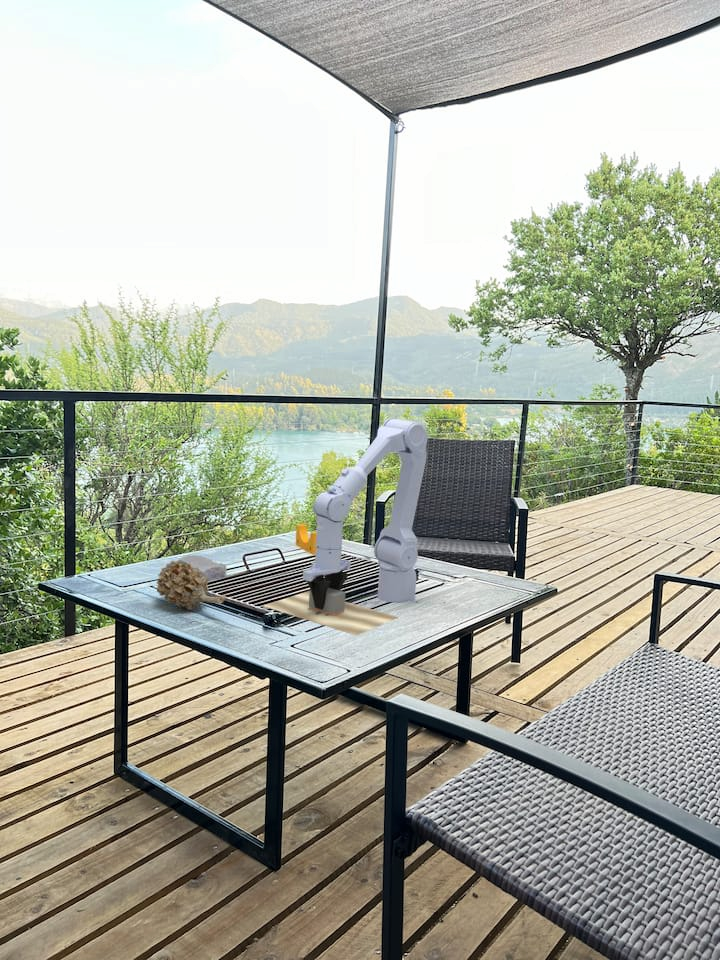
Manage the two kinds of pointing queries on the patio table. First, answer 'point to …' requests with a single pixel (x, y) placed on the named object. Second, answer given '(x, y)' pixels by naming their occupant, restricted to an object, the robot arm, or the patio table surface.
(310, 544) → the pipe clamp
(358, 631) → the board
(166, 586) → the dried flower head
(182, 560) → the stone block
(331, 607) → the block
